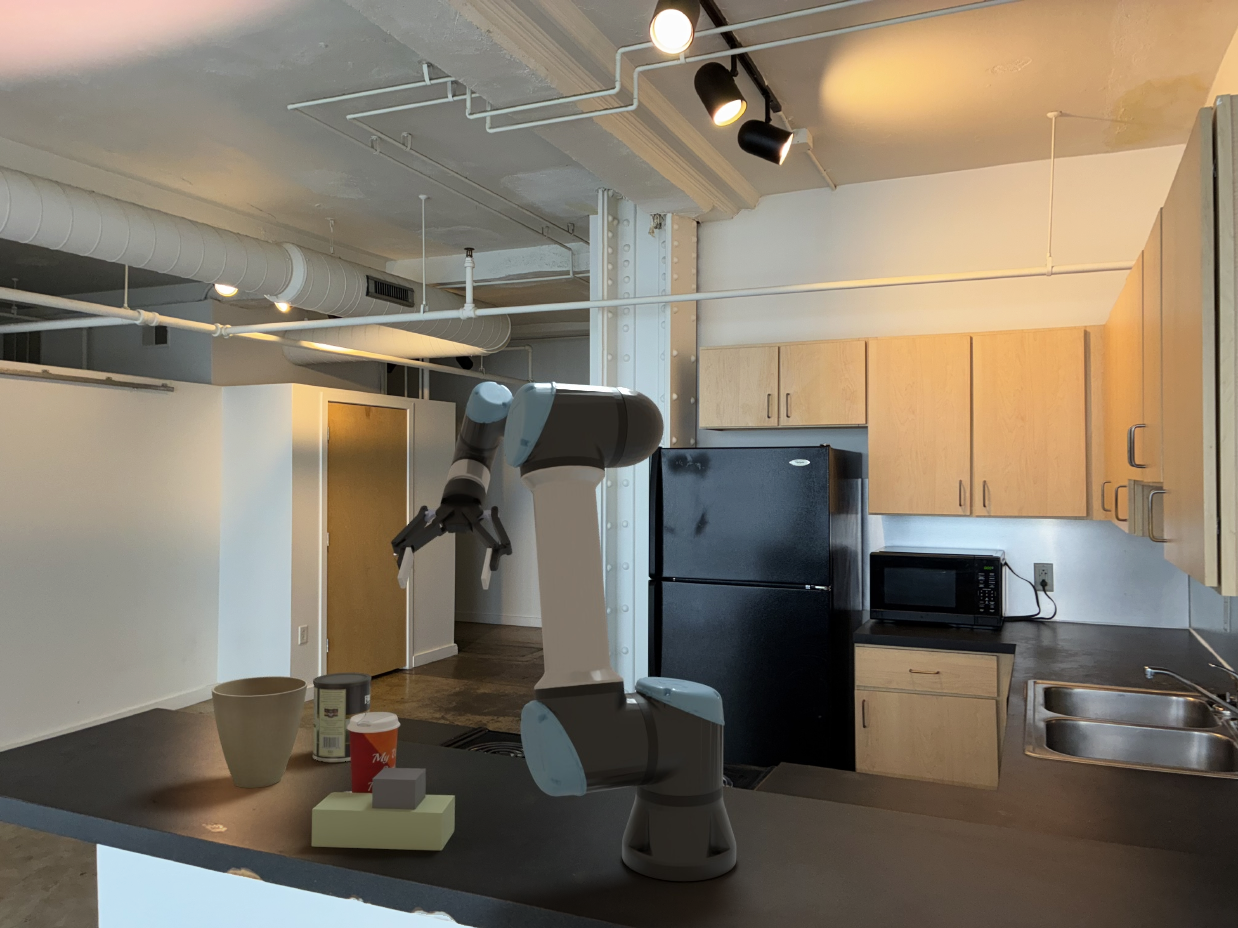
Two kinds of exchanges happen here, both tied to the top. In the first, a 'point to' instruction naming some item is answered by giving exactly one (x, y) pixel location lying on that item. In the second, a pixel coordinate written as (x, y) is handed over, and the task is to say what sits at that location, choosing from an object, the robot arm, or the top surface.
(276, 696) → the plant pot
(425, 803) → the green block with cube
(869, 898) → the top surface
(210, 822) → the top surface
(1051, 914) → the top surface
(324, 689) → the coffee can
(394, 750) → the paper cup
